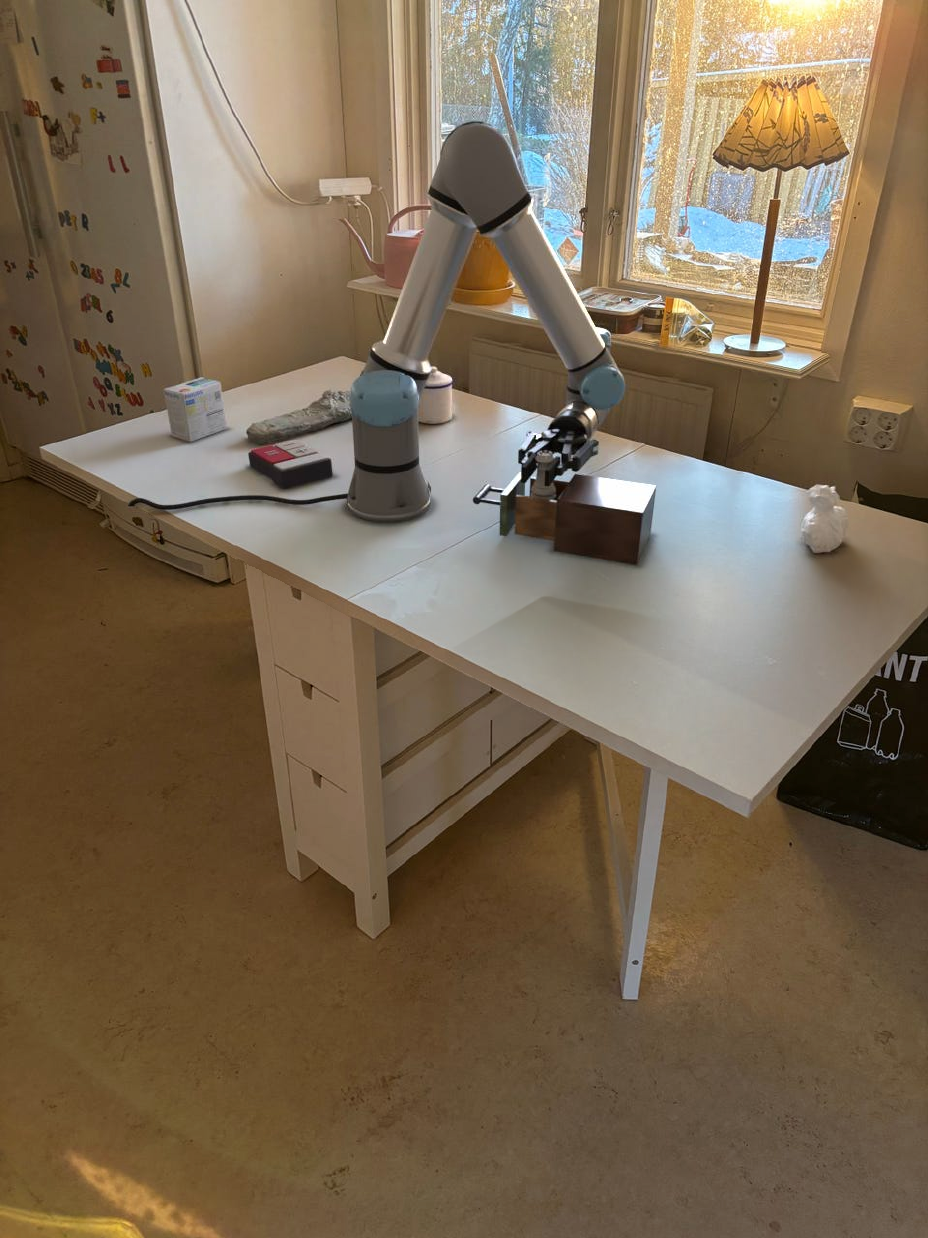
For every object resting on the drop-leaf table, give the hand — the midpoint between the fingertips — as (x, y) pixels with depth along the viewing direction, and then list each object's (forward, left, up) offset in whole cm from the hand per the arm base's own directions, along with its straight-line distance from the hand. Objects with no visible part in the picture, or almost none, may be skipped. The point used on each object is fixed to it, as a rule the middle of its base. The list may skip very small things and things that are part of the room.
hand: (535, 476), depth 147 cm
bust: (+46, +18, -13) cm, 51 cm away
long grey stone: (-64, +40, -13) cm, 76 cm away
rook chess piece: (0, +5, -6) cm, 8 cm away
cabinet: (+11, +5, -13) cm, 18 cm away
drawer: (-2, +5, -12) cm, 13 cm away
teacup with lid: (-42, +54, -13) cm, 70 cm away
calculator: (-55, +14, -13) cm, 58 cm away
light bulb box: (-84, +26, -13) cm, 90 cm away
